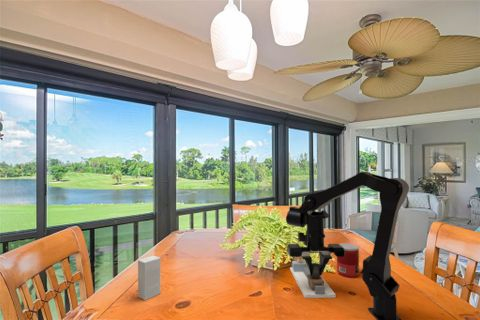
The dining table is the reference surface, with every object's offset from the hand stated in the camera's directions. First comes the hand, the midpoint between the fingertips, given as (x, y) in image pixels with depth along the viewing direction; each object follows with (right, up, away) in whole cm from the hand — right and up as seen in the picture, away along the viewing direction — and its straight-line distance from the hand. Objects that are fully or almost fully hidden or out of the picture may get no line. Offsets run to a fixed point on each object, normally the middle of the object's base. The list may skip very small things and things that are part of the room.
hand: (315, 275), depth 90 cm
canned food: (+17, -6, +14) cm, 22 cm away
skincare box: (-56, -5, -4) cm, 56 cm away
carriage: (0, -4, 0) cm, 4 cm away
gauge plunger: (-2, 0, +15) cm, 15 cm away
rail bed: (0, -5, +6) cm, 8 cm away
